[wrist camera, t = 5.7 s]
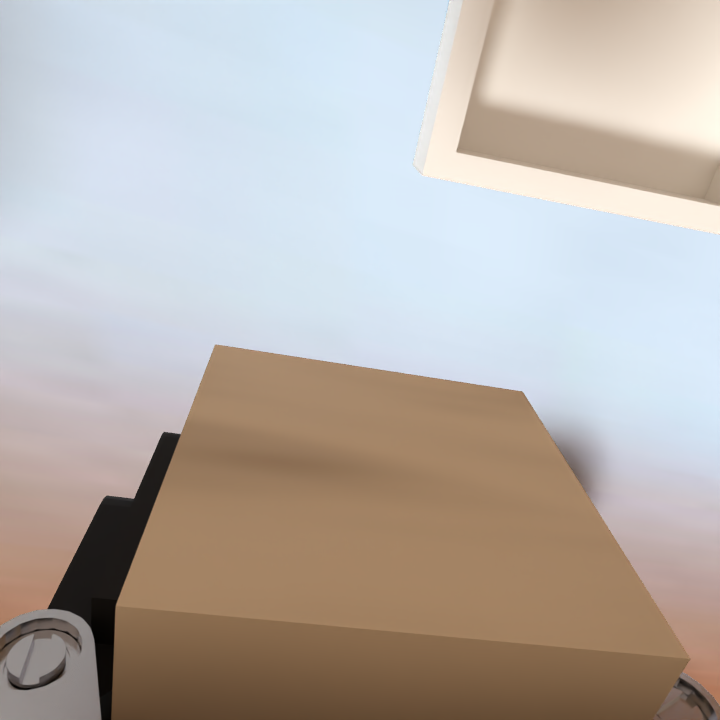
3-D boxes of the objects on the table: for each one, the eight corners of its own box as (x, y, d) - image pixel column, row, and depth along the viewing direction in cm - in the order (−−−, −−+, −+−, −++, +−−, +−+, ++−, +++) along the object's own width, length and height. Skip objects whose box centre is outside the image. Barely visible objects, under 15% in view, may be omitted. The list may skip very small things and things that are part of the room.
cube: (444, 608, 14) (519, 932, 9) (189, 584, 14) (103, 924, 8) (523, 391, 12) (690, 658, 7) (214, 344, 11) (116, 606, 6)
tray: (707, 224, 26) (745, 239, 23) (412, 165, 24) (422, 175, 22) (874, -155, 20) (945, -184, 18) (509, -267, 19) (536, -315, 16)
